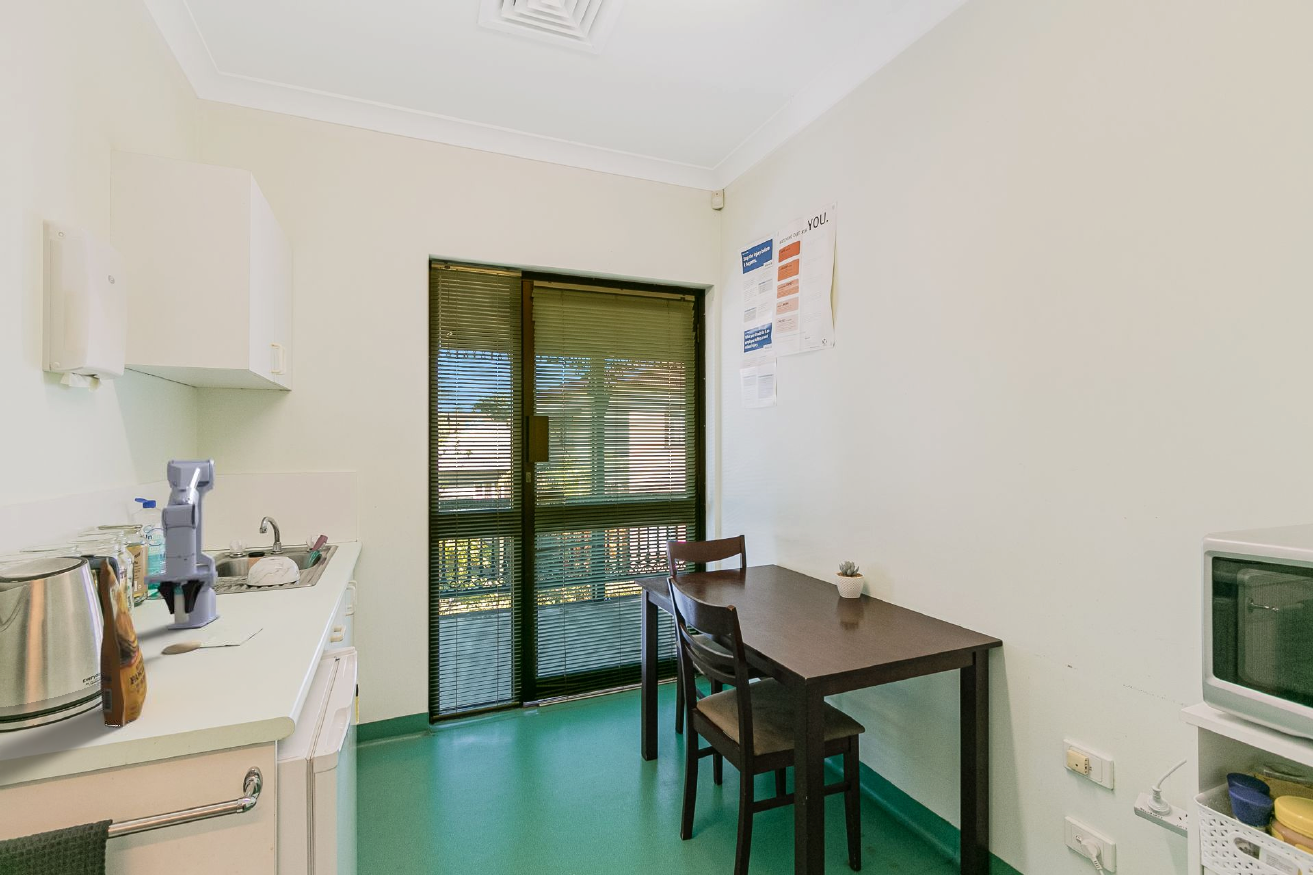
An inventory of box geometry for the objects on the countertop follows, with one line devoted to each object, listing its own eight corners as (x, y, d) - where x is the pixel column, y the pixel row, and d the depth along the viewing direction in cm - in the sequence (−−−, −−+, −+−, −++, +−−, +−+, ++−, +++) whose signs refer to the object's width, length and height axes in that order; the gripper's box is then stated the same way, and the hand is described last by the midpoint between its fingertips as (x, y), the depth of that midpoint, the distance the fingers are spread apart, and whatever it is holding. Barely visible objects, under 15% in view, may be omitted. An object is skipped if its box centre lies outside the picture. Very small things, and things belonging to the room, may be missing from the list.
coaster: (174, 644, 144) (174, 642, 144) (207, 642, 145) (207, 640, 145) (156, 655, 137) (156, 653, 137) (190, 652, 138) (190, 651, 138)
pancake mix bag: (85, 738, 100) (83, 571, 99) (105, 697, 115) (102, 553, 115) (139, 727, 103) (136, 566, 103) (150, 688, 119) (148, 549, 119)
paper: (224, 631, 153) (224, 630, 153) (263, 629, 155) (263, 628, 155) (197, 648, 141) (197, 647, 141) (239, 645, 143) (239, 644, 143)
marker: (178, 620, 142) (178, 586, 142) (191, 619, 142) (190, 586, 142) (171, 623, 139) (171, 589, 139) (184, 623, 140) (184, 589, 140)
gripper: (134, 560, 136) (135, 619, 136) (205, 557, 138) (206, 615, 138) (154, 554, 143) (155, 610, 143) (222, 551, 145) (222, 607, 145)
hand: (181, 612), depth 141 cm, fingers closed on marker, 3 cm apart
